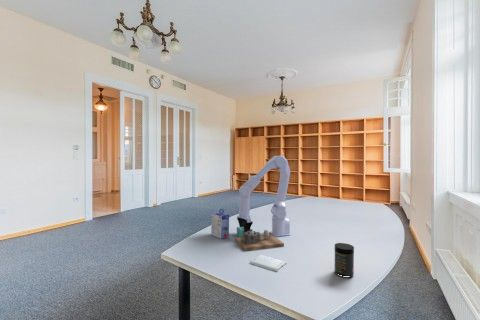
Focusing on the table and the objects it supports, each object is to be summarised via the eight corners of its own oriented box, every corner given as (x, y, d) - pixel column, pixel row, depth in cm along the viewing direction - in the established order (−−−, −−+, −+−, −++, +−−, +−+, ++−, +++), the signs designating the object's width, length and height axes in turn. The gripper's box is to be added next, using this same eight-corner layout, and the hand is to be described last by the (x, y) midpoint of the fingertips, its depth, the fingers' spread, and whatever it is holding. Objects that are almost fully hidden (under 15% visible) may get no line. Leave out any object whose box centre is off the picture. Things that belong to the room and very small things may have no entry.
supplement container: (354, 279, 86) (354, 250, 86) (333, 276, 89) (334, 247, 89) (353, 271, 92) (353, 244, 92) (334, 268, 95) (334, 241, 95)
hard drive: (250, 260, 99) (277, 269, 92) (260, 254, 106) (286, 261, 99) (250, 264, 99) (277, 273, 92) (260, 258, 106) (286, 265, 99)
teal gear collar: (248, 232, 139) (248, 225, 138) (253, 236, 132) (253, 229, 132) (236, 234, 136) (236, 227, 136) (240, 238, 129) (240, 230, 129)
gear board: (270, 236, 132) (270, 225, 132) (284, 246, 118) (284, 234, 118) (235, 240, 126) (235, 229, 126) (245, 251, 112) (245, 238, 112)
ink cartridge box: (229, 237, 131) (229, 210, 131) (221, 239, 128) (221, 212, 127) (218, 232, 139) (218, 207, 139) (210, 234, 135) (210, 208, 135)
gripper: (233, 205, 139) (233, 229, 140) (241, 210, 126) (241, 237, 126) (245, 204, 142) (245, 227, 142) (254, 210, 128) (254, 235, 128)
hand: (244, 232), depth 134 cm, fingers open, 7 cm apart
